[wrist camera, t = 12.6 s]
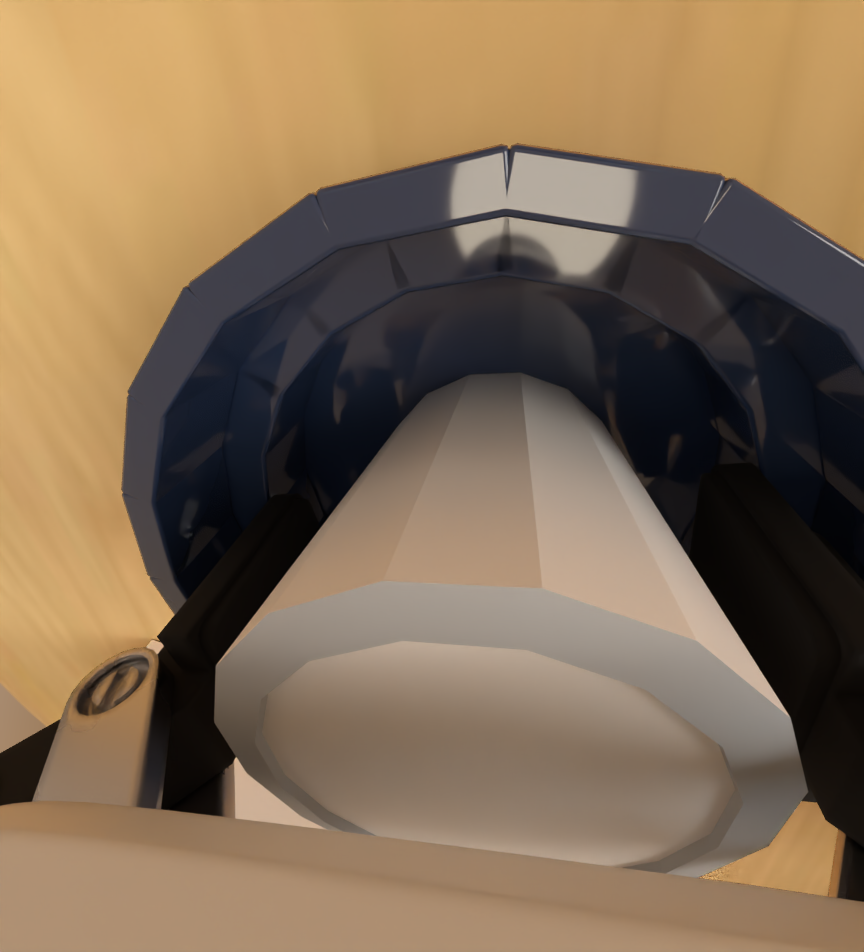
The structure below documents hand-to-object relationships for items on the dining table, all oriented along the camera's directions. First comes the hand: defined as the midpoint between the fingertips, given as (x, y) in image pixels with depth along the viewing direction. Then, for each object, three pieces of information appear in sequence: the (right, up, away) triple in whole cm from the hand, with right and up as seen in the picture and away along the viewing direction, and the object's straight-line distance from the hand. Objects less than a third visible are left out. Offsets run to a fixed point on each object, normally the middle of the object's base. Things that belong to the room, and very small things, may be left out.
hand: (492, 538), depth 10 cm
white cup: (0, +1, +2) cm, 2 cm away
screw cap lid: (0, +2, +2) cm, 3 cm away
